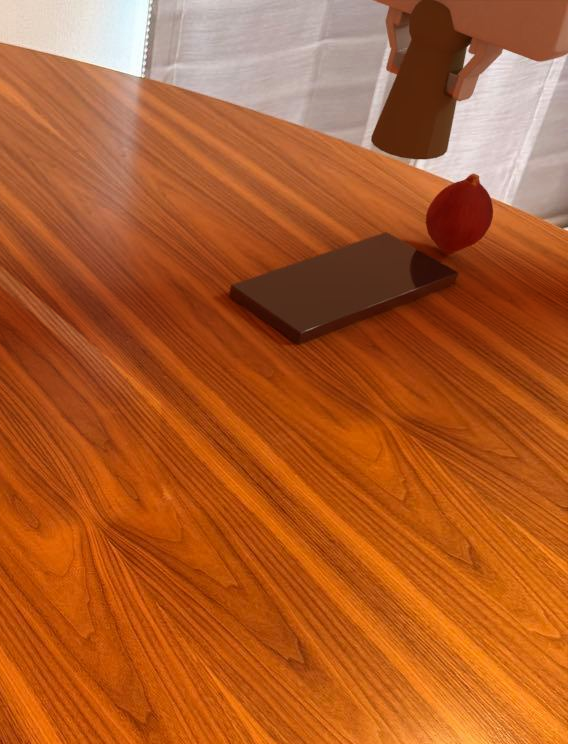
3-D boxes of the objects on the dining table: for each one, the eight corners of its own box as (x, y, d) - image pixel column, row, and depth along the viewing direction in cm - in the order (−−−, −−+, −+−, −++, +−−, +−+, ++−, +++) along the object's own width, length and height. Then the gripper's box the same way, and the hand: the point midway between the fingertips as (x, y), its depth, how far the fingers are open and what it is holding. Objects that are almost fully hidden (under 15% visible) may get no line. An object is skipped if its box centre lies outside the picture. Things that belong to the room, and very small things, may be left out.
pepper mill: (367, 125, 81) (406, -21, 74) (440, 131, 81) (488, -16, 73) (375, 156, 77) (417, 4, 69) (453, 162, 77) (504, 10, 69)
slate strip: (382, 242, 96) (386, 231, 95) (455, 284, 91) (459, 272, 90) (228, 296, 88) (230, 284, 87) (297, 345, 83) (301, 332, 82)
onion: (413, 235, 97) (439, 156, 92) (473, 242, 97) (503, 163, 91) (417, 263, 93) (445, 182, 88) (480, 271, 93) (512, 190, 87)
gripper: (658, -98, 61) (567, 123, 71) (408, -158, 73) (360, 39, 83) (596, -87, 59) (511, 141, 69) (349, -151, 71) (306, 51, 81)
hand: (426, 84), depth 76 cm, fingers closed on pepper mill, 4 cm apart
